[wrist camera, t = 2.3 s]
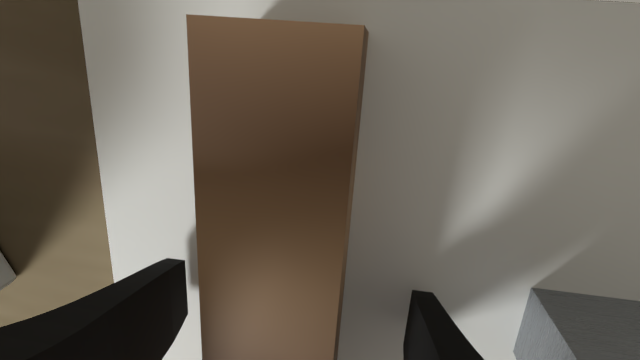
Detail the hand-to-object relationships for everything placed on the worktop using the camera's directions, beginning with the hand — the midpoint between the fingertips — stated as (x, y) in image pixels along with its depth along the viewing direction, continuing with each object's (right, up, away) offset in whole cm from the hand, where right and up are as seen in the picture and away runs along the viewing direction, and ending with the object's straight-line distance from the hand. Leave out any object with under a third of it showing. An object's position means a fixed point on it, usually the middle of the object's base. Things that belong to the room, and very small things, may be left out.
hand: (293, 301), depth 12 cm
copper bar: (0, 0, +1) cm, 1 cm away
